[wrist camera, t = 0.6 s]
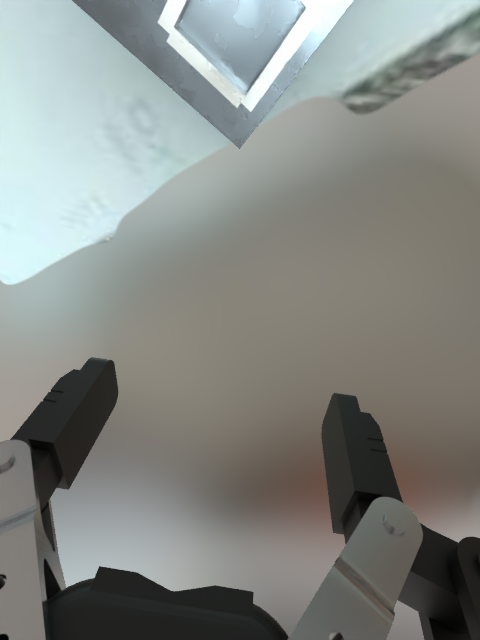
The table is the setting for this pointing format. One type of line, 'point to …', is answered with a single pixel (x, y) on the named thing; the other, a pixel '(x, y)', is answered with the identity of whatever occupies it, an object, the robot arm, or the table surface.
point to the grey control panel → (221, 49)
